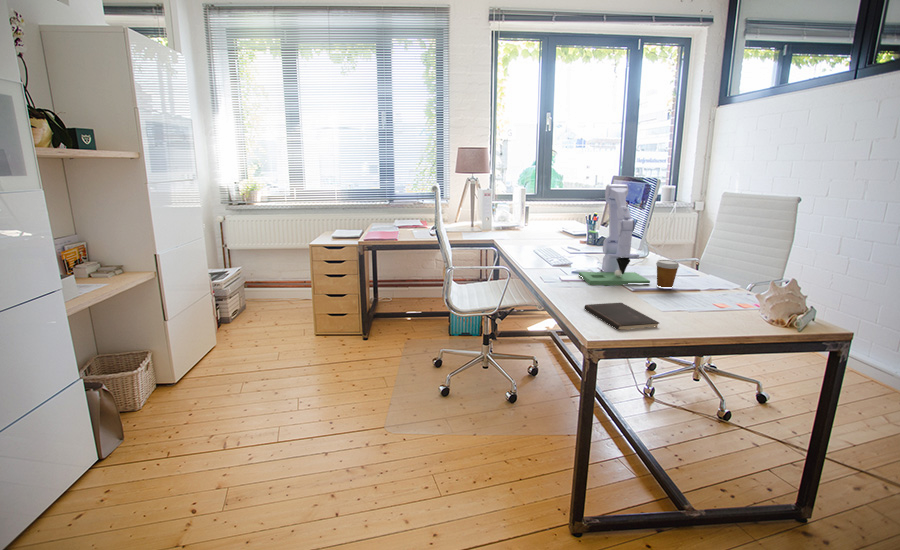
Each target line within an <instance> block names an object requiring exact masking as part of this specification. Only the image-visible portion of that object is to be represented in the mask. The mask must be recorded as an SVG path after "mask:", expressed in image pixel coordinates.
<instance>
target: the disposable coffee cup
mask: <svg viewBox="0 0 900 550" xmlns="http://www.w3.org/2000/svg"><path fill="white" fill-rule="evenodd" d="M655 264H656V286H657V285H658V286H661V287H672V286H673V287H674V282H675V279H676V276H677V273H678V269H679V268H680V263H679V262H678V261H677V260H671V259H658V260H657V261H656V263H655ZM673 287H672V288H673Z"/></svg>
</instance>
